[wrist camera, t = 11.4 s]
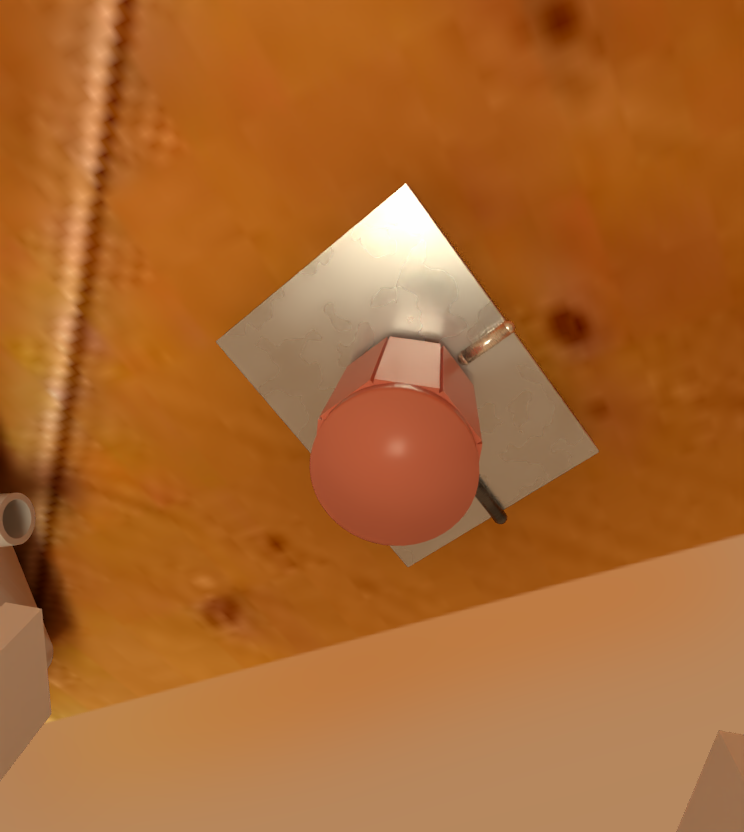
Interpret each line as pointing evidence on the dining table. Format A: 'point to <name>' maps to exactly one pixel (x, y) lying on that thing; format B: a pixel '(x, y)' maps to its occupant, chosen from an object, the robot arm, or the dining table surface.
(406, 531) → the wire nut
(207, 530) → the dining table surface
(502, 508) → the plate
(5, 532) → the tank
